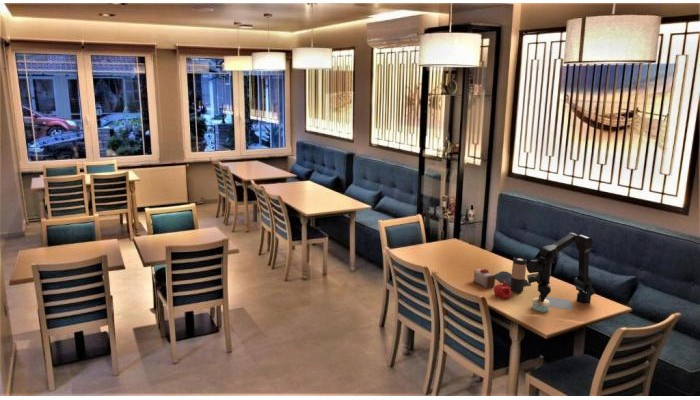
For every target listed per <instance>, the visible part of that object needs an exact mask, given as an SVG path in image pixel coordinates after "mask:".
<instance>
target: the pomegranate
mask: <svg viewBox="0 0 700 400" xmlns="http://www.w3.org/2000/svg"><path fill="white" fill-rule="evenodd" d="M498 282H499V281H498ZM505 284H506V283H505V281H503V283H501V282H499V283H497V284H496V285H495V286H494V288H493V293H494V295H495V297H497V298H499V299H503V300H506V299H509V298H510V297H511V296H512V294H513V292H512V291H511V288H510V287H509V285H505Z"/></svg>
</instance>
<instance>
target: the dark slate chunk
mask: <svg viewBox="0 0 700 400" xmlns="http://www.w3.org/2000/svg"><path fill="white" fill-rule="evenodd" d="M493 275H494V276H495V281H497V282H501V283H502V284H503V281H505V283H506V284H505V285H509V287H510V289H511V275H512V272H508V271H504V270H502V271H499V272H497V273H495V274H493ZM501 283H500V284H501ZM530 286H532V283H529V282H528V279H525V281H524V287H530Z"/></svg>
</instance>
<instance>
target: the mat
mask: <svg viewBox="0 0 700 400" xmlns="http://www.w3.org/2000/svg"><path fill="white" fill-rule="evenodd" d="M545 299H547V300H549V301H550V305H549V308H553V309H554V308H555V309H562V310H570V311H574V308H573V303H572V301H571V299H565V298H558V297H551V296H550V297H549V296H547V297H546V298H545Z"/></svg>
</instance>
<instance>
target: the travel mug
mask: <svg viewBox="0 0 700 400" xmlns="http://www.w3.org/2000/svg"><path fill="white" fill-rule="evenodd" d="M527 261H528V260H527V258H525V257H523V256H513V260H512V266H511V267H512V268H511V274H512V275H511V288H510V289H511V291H512V293H515V294H521V293H522V292H524V289H525V288H524V287H525V286H524V281H525V280H526V274H527V273H526V271H527V268H526V266H527V264H528V263H527Z"/></svg>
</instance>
